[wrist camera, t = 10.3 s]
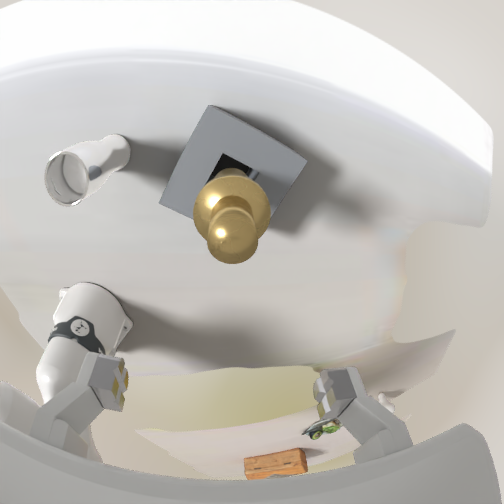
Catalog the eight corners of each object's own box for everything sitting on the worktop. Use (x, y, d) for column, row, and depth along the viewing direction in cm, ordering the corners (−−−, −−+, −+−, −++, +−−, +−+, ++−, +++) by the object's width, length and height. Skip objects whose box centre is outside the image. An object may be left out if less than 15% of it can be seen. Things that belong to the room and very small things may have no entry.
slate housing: (247, 222, 45) (251, 246, 38) (170, 185, 41) (158, 203, 34) (294, 150, 39) (307, 161, 33) (212, 105, 35) (208, 105, 28)
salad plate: (317, 414, 87) (319, 424, 83) (355, 411, 90) (358, 420, 86) (297, 433, 96) (299, 442, 92) (333, 430, 99) (335, 438, 96)
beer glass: (129, 126, 35) (83, 142, 22) (136, 169, 39) (96, 203, 26) (91, 137, 35) (37, 158, 22) (99, 177, 39) (52, 213, 26)
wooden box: (254, 463, 120) (256, 483, 108) (243, 457, 111) (244, 480, 99) (305, 453, 116) (309, 474, 104) (299, 447, 108) (303, 470, 96)
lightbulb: (372, 399, 85) (381, 422, 76) (373, 393, 82) (382, 417, 73) (387, 393, 85) (396, 415, 75) (388, 386, 82) (397, 410, 72)
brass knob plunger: (242, 222, 34) (249, 293, 22) (192, 197, 31) (170, 259, 20) (271, 175, 31) (298, 225, 19) (219, 147, 29) (211, 179, 17)
